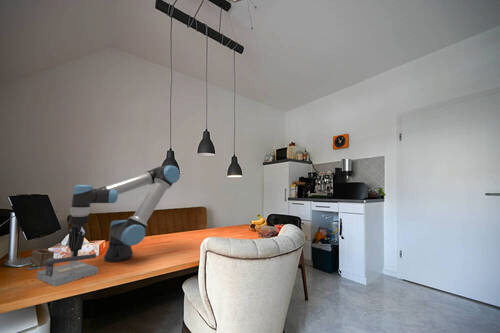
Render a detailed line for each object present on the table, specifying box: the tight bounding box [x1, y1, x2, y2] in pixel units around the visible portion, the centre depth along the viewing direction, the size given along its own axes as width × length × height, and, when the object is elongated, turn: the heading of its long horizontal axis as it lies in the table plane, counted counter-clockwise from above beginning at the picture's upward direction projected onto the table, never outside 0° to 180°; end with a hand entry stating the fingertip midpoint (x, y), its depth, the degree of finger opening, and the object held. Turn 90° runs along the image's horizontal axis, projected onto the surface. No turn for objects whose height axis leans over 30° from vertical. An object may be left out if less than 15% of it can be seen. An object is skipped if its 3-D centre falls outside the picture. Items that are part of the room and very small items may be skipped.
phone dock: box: [30, 248, 55, 267], centre depth 119 cm, size 5×12×7 cm, turn 63°
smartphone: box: [25, 264, 46, 271], centre depth 118 cm, size 8×15×1 cm, turn 29°
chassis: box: [35, 260, 99, 287], centre depth 105 cm, size 17×18×7 cm
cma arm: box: [45, 253, 97, 265], centre depth 103 cm, size 19×3×2 cm, turn 126°
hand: (72, 264), depth 105 cm, fingers closed
